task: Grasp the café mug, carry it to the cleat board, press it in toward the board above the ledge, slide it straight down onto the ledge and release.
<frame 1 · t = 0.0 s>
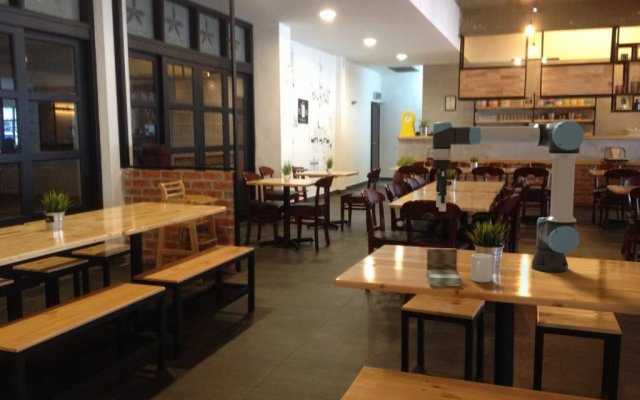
hand: (440, 209, 241), 28 cm above the table, fingers open, 13 cm apart
mug: (480, 281, 231), on the table
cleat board: (441, 276, 239), on the table
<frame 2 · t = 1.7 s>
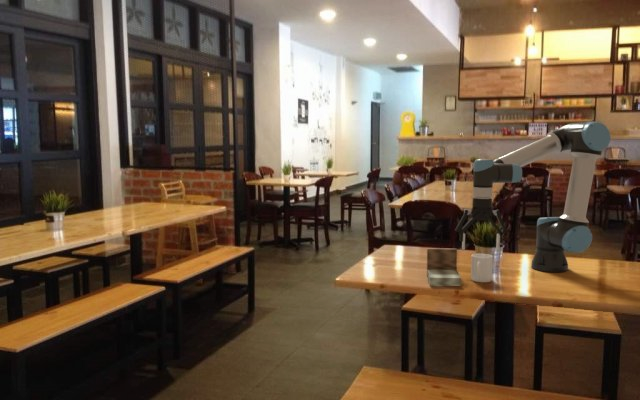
hand: (480, 249, 229), 13 cm above the table, fingers open, 13 cm apart
nothing on the table moved.
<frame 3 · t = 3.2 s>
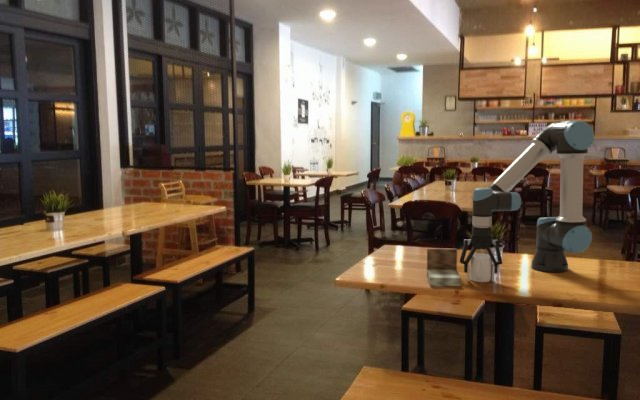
hand: (480, 280, 231), 0 cm above the table, fingers open, 9 cm apart
mug: (479, 281, 231), on the table, touching gripper
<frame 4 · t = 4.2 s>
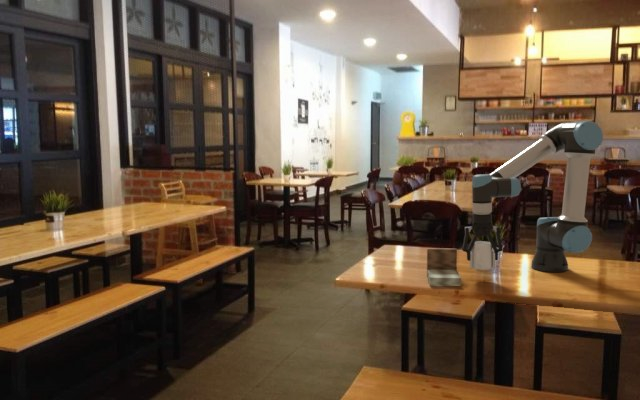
hand: (482, 268, 230), 5 cm above the table, fingers closed on mug, 8 cm apart
mug: (480, 269, 231), point 5 cm above the table, touching gripper
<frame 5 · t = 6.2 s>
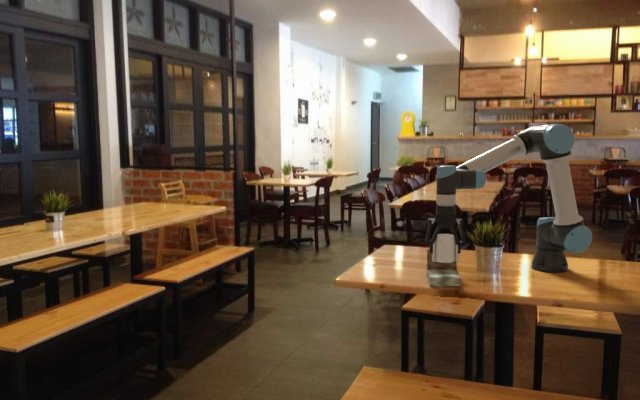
hand: (444, 261, 226), 9 cm above the table, fingers closed on mug, 8 cm apart
mug: (443, 262, 226), point 9 cm above the table, touching gripper
when the fingers open (4 cm above the table, at t = 8.5 s): mug stays where it is, resting on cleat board.
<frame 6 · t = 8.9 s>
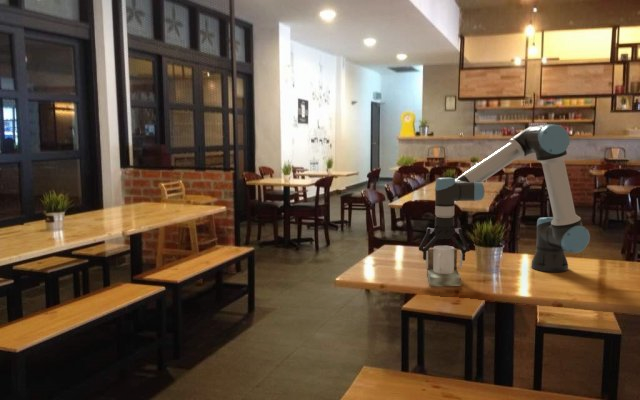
hand: (443, 268, 230), 6 cm above the table, fingers open, 13 cm apart
mug: (442, 273, 230), point 3 cm above the table, touching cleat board
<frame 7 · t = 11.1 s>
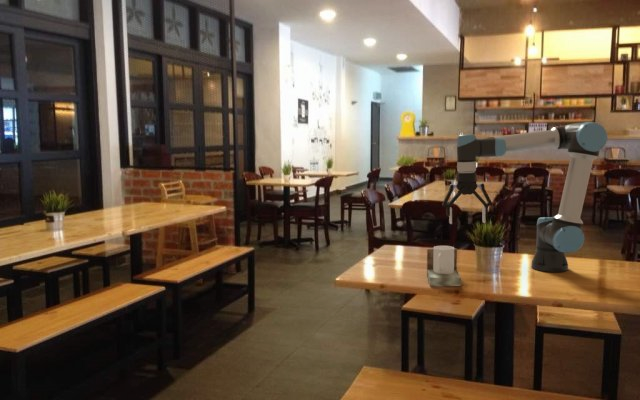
hand: (467, 223, 236), 23 cm above the table, fingers open, 13 cm apart
nothing on the table moved.
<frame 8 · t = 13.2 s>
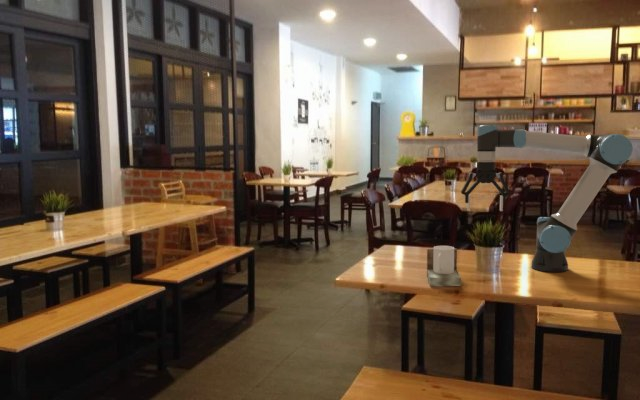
hand: (484, 210, 244), 27 cm above the table, fingers open, 13 cm apart
nothing on the table moved.
at the end: mug inside the target area on the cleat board (0.6 cm from its centre), point 3.3 cm above the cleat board's base; mug tilted 0°; the gripper is holding nothing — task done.
